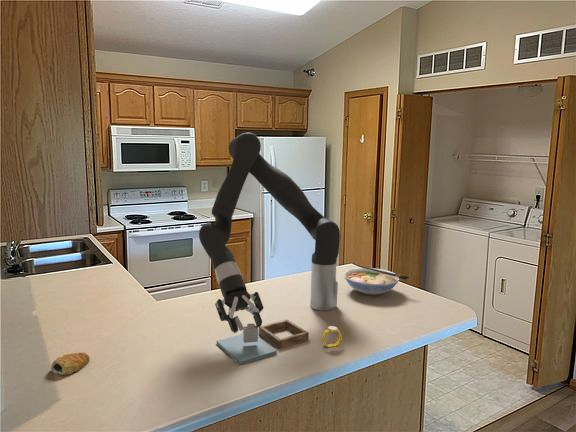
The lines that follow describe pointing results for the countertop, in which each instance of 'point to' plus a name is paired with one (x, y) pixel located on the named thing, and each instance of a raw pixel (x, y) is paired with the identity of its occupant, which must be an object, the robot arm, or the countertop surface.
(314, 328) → the countertop surface
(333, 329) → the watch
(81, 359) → the pastry
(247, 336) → the lighter
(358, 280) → the ramen bowl
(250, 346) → the slate board
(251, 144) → the robot arm
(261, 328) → the frame
